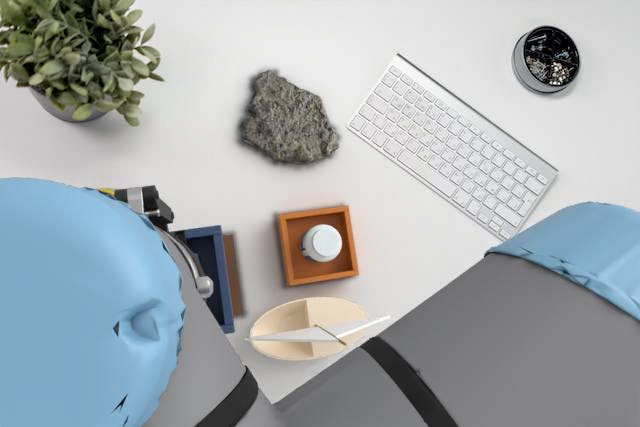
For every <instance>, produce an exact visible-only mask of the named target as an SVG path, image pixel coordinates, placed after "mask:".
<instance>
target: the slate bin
mask: <svg viewBox="0 0 640 427" xmlns="http://www.w3.org/2000/svg"><path fill="white" fill-rule="evenodd" d="M180 230H181V229H180ZM180 230H178V231H180ZM184 230H185V235H186V246H187V247H188V248H189V249H190V250H191V251H192V252H193V253H197V254H199V255H200V259H201V267H202V269H203V272H204V275H205V276H208V277H209V278H210V279H211V280H212V281H213V293H212V294H211V296H210V297H208V298H207V301H206V305H207V306H208V308H209V310H210V311H211V313H212V314H213V316H214V318H215V319H216V321H217V322H218V324H219V326H220V327H221V329H222V330H223V332H224V333H225V335H228V334H229V335H230V334H234V333H235V332H236V325H235V319H234V318H235V317H234V316H241V315H244V310H243V303H242V296H241V288H240V280H239V275H238V265H237V258H236V251H235V243H234V237H233V236H234V235H233V234H228V235H223V228H222V225H221V224H217V225H208V226H202V227H194V228H187V229H184ZM173 231H174V230H171V231H170V232H173Z"/></svg>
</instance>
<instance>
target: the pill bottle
mask: <svg viewBox="0 0 640 427" xmlns="http://www.w3.org/2000/svg"><path fill="white" fill-rule="evenodd" d="M341 247H342V240H341V236H340V234H339V233H338V231H337V230H336V229H335V228H333V227H332V226H329V225H323V224H322V225H317V226H315V227H313V228H311V229H309V230H308V231H306V232H305V233H304V234H303V236H302V237H301V240H300V251H301V253H302V255H303V256H304V257H305V258H306V259H307V260H309V261H311V262H315V263H319V262H327V261H330V260H332V259H334V258H335V257H336V256H337V255H338V254H339V252H340V250H341Z"/></svg>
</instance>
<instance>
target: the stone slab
mask: <svg viewBox="0 0 640 427" xmlns="http://www.w3.org/2000/svg"><path fill="white" fill-rule="evenodd" d="M253 88H254V89H255V90H254V92H253V94H252V96H251V99H250V101H249V103H248V105H247V108H246V112H247V114H249V115H253V116H254V117H247V118H245V119H244V120H243V122H241V126H240V130H239V131H240V134H241V138H242V142H244V143H247V144H248V145H250V146H253V147H255V148H258V149H261V150H263V151H264V153H266V154H267V156H268V157H269V158H270V159H272V160H273V161H279V162H282V163H283V162H284V163H291V164H296V165H301V164H303V165H309V164H311V163H314V162H316V161H319V160H326V159H327V158H329V157H330V155H332V153H333V152H335V151H336V150H338V149H339V148H340V143H339V139H338V132H337V130H335V128H333V127H332V124H331V122H330V119H329V118H330V117H329V116H328V114H327V110H326V108H325V105H324V103H323V100H322V98H321V96H319V95H317V94H314V93H313V92H310V91H309V90H306V89H305V88H300V87H299V86H297V85H295V84H294V83H292V82H289V81H288V80H287V78H285V77H283V76H281V75H280V76H279V75H277V74H276V73H274V72H271V70H270V69H268V70H267V69H266V70H265V71H264V72H263V71H262V72H260V73H259V74H258V75H257V77H256V78H255V79H254V82H253Z"/></svg>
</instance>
